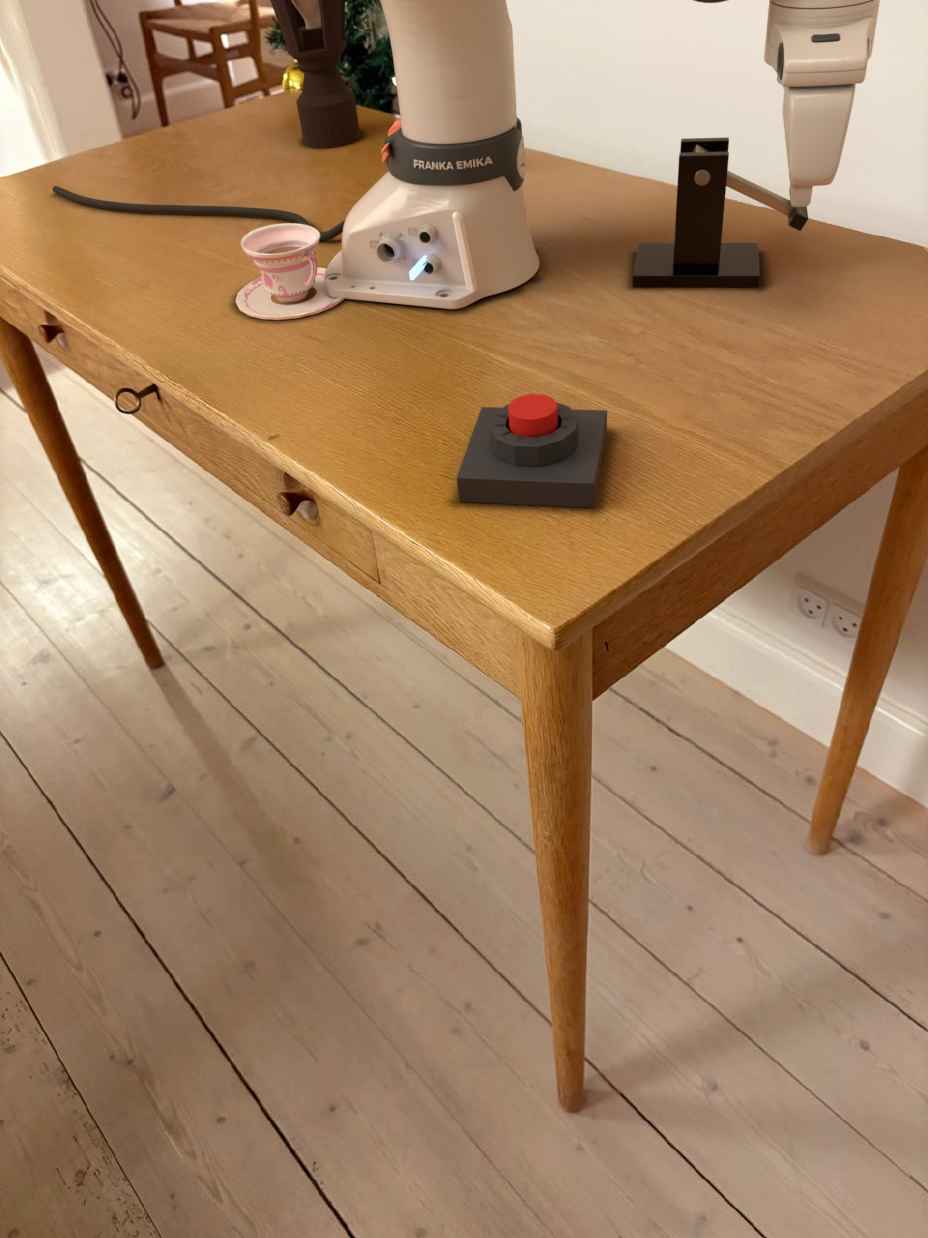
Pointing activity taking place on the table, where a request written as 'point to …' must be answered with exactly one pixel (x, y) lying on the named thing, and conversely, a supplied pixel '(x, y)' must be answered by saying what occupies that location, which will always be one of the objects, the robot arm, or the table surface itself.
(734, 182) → the lever
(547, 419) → the button
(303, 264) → the teacup
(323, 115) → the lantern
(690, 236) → the bracket
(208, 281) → the table surface
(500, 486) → the button box
